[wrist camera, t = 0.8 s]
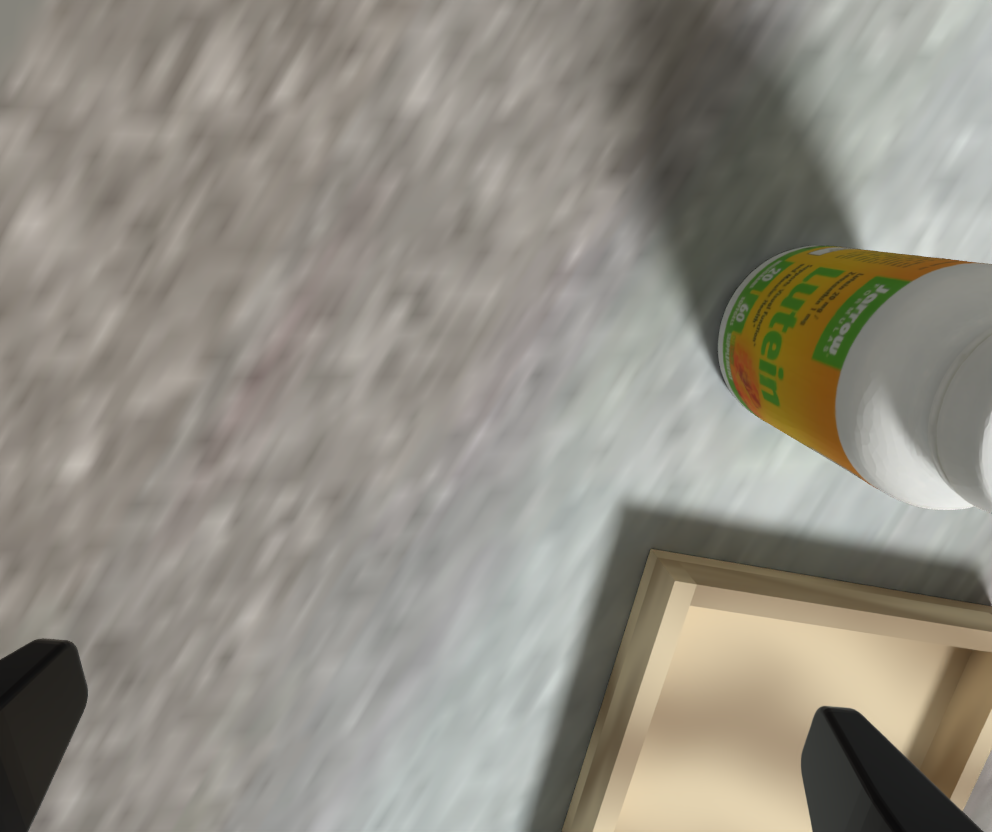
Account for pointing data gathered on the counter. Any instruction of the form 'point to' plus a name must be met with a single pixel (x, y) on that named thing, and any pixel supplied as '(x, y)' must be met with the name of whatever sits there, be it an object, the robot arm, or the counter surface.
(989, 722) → the tray
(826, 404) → the supplement bottle
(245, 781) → the counter surface
